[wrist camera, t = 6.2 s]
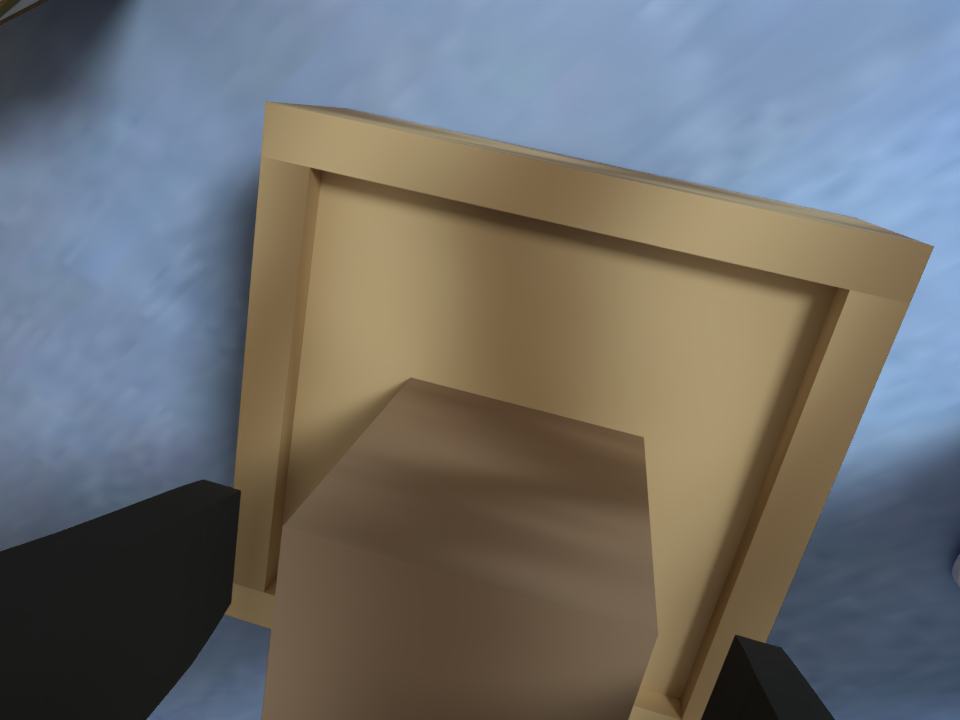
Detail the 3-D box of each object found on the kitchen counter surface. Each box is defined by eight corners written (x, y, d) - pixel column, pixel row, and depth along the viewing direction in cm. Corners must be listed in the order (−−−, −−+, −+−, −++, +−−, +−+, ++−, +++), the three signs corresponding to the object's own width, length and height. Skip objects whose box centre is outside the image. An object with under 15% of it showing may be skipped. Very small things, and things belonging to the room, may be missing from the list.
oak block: (856, 218, 15) (933, 246, 12) (695, 642, 20) (713, 766, 16) (346, 108, 17) (265, 101, 13) (295, 525, 21) (222, 613, 17)
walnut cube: (643, 437, 14) (657, 635, 9) (584, 630, 16) (564, 900, 10) (410, 377, 15) (282, 526, 9) (377, 569, 17) (252, 794, 11)
